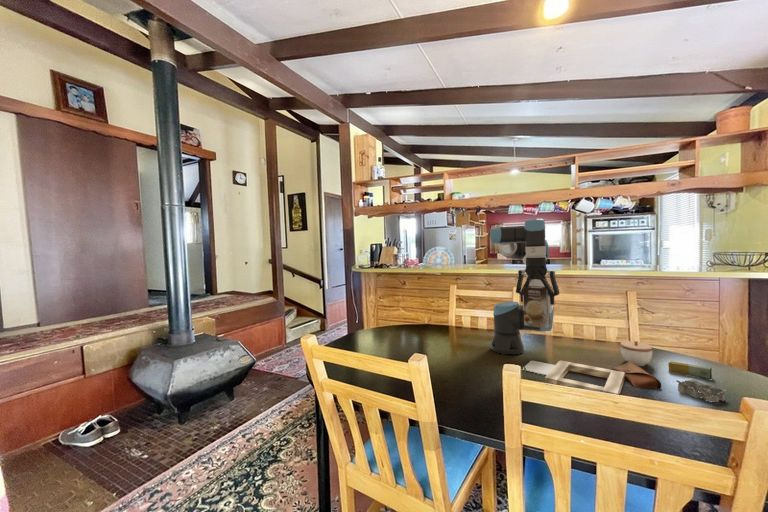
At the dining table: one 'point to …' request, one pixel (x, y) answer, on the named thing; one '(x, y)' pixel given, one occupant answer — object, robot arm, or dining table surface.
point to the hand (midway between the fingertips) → (537, 311)
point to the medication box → (690, 370)
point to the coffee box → (536, 307)
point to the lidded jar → (636, 352)
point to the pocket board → (613, 376)
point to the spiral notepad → (539, 367)
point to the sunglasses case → (638, 376)
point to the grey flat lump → (701, 390)
